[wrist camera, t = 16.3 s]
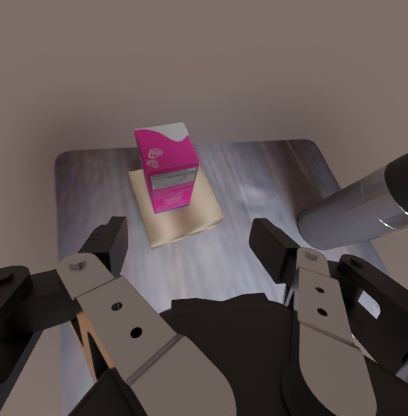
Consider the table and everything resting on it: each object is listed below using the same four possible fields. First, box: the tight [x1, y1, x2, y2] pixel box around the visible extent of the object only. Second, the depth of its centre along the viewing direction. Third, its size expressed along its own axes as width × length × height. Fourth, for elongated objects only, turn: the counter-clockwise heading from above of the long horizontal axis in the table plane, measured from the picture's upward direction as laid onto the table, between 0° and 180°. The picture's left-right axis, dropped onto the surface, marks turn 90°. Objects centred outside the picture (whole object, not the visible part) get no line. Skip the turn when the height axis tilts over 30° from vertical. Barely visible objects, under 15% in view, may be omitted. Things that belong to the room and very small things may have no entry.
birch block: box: [128, 163, 224, 250], centre depth 33 cm, size 12×12×6 cm
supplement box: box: [134, 122, 200, 214], centre depth 25 cm, size 6×6×12 cm
